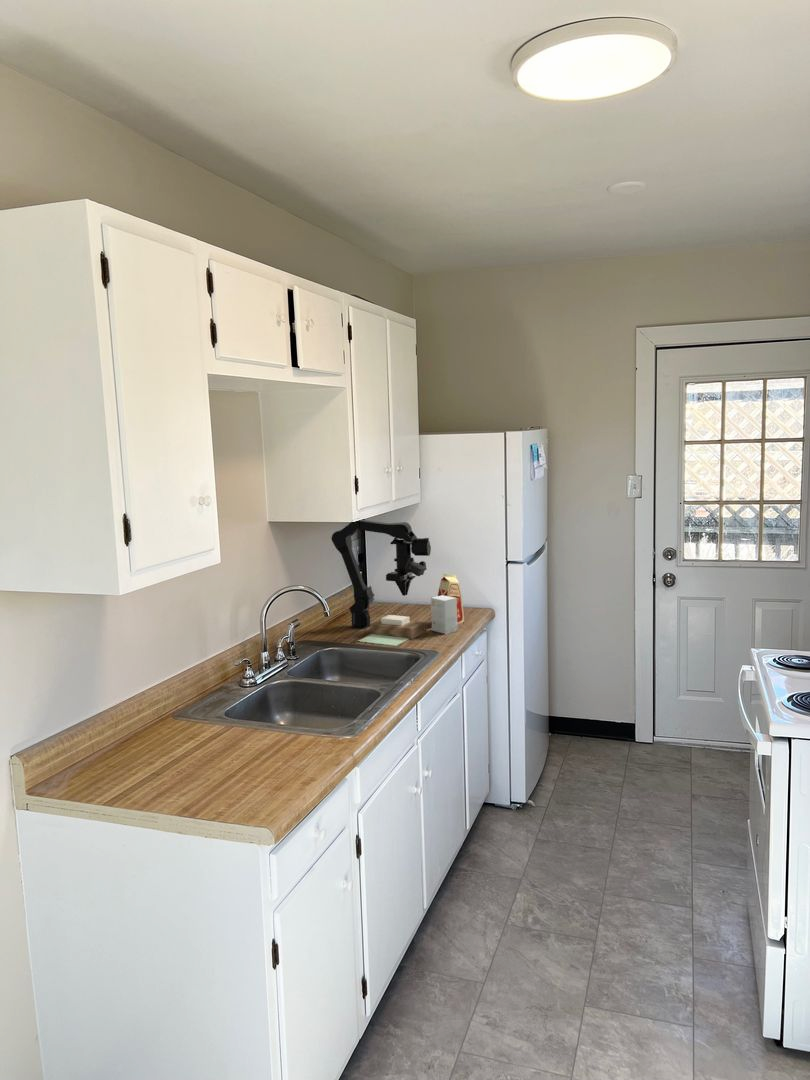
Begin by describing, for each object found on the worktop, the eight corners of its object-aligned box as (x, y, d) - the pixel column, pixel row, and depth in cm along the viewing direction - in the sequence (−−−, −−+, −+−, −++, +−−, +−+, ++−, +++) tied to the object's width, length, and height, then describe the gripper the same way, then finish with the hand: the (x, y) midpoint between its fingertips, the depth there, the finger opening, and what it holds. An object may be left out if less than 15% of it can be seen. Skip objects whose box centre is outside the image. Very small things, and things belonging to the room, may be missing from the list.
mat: (357, 641, 296) (357, 640, 296) (372, 634, 305) (371, 634, 305) (395, 646, 288) (395, 645, 288) (409, 639, 297) (409, 638, 297)
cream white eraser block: (381, 623, 305) (381, 618, 305) (389, 619, 311) (389, 614, 310) (402, 625, 301) (401, 620, 301) (409, 621, 306) (409, 616, 306)
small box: (457, 631, 306) (457, 597, 304) (445, 634, 302) (444, 600, 300) (443, 627, 312) (442, 594, 310) (431, 630, 308) (430, 597, 306)
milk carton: (449, 626, 314) (448, 576, 311) (433, 622, 321) (432, 573, 318) (466, 622, 319) (465, 572, 316) (450, 618, 326) (449, 569, 323)
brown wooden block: (370, 634, 305) (370, 624, 305) (383, 628, 314) (383, 618, 314) (412, 639, 297) (411, 628, 296) (424, 632, 305) (424, 622, 305)
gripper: (410, 560, 297) (411, 601, 299) (433, 552, 313) (434, 592, 316) (384, 559, 303) (385, 599, 305) (408, 551, 319) (409, 589, 321)
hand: (404, 595), depth 311 cm, fingers closed
